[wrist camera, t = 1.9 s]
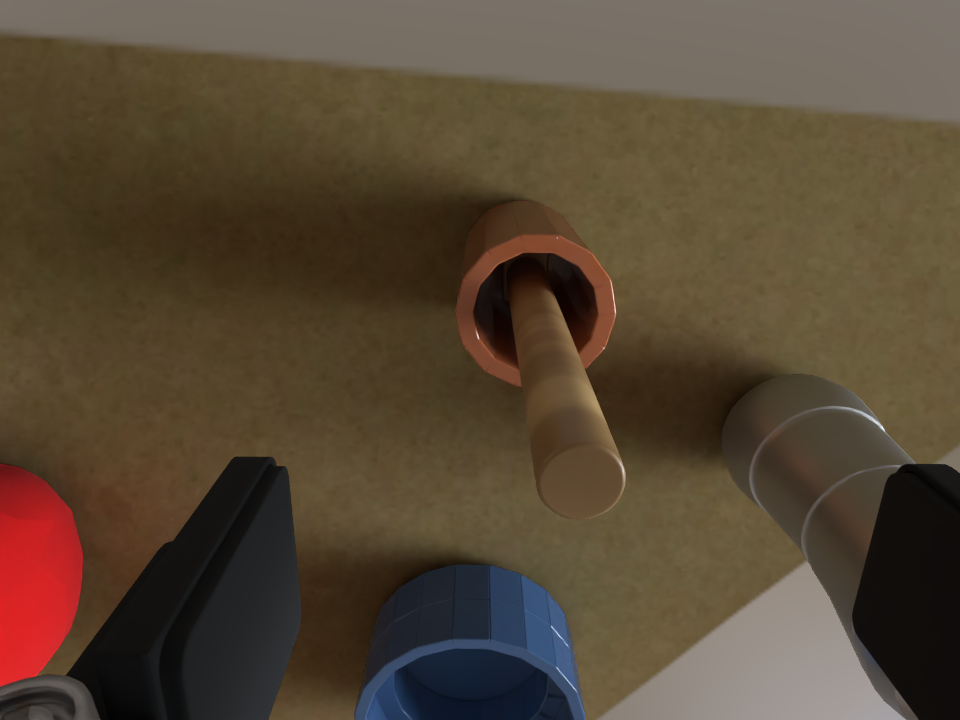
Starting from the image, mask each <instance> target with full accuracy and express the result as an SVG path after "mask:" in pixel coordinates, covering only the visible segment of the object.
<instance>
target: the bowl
mask: <svg viewBox="0 0 960 720" xmlns="http://www.w3.org/2000/svg"><path fill="white" fill-rule="evenodd" d="M354 719H355V720H585V719H586V717H585V711H584V705H583V699H582V694H581V688H580V682H579V676H578V670H577V665H576V659H575V653H574V647H573V641H572V636H571V632H570V629H569V626H568V623H567V620H566V617H565V614H564V612H563V610H562V609H561V608H560V607H559V605H558V604H557V603H556V602H555V600H554V599H553V598H552V597H551V596H550V594H549V593H548V592H547V591H546V590H545V589H544V588H542V587H540V586H539V585H537V584H536V583H534V582H533V581H531V580H529V579H528V578H526V577H525V576H523V575H521V574H520V573H517V572H513V571H510V570H506V569H503V568H499V567H496V566H492V565H466V564H457V565H451V566H447V567H443V568H439V569H435V570H431V571H428V572H425V573H423V574H421V575H419V576H418V577H416V578H414V579H413V580H411V581H409V582H408V583H406V584H404V585H403V586H401V587H400V588H398V589H397V590H396V591H395V592H394V593H393V594H392V596H391V597H390V598H389V599H388V600H387V601H386V603H385V604H384V605H383V606H382V607H381V608H380V610H379V613H378V616H377V619H376V622H375V624H374V627H373V630H372V633H371V638H370V642H369V647H368V652H367V656H366V661H365V666H364V670H363V675H362V680H361V684H360V689H359V694H358V698H357V703H356V708H355V712H354Z"/></svg>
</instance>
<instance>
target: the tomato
mask: <svg viewBox="0 0 960 720" xmlns="http://www.w3.org/2000/svg"><path fill="white" fill-rule="evenodd" d="M82 570H83V551H82V547H81V543H80V539H79V536H78V532H77V528H76V525H75V521H74V517H73V514H72V510H71V509H70V508H69V507H68V506H67V505H66V504H65V502H64V501H63V500H62V499H61V498H60V497H59V496H58V495H57V493H56V492H55V491H54V490H53V489H52V488H51V487H50V485H49V484H48V483H47V482H46V481H45V480H44V479H42V478H40V477H38V476H36V475H34V474H32V473H30V472H28V471H26V470H25V469H23V468H21V467H18V466H12V465H6V464H0V687H1V686H4V685H7V684H10V683H13V682H15V681H18V680H21V679H24V678H29V677H36V676H37V675H38V674H39V673H40V671H41V670H42V669H43V668H44V667H45V665H46V664H47V663H48V661H49V660H50V659H51V657H52V656H53V655H54V653H55V652H56V651H57V649H58V648H59V647H60V645H61V644H62V642H63V640H64V639H65V637H66V636H67V634H68V632H69V631H70V629H71V626H72V623H73V621H74V618H75V615H76V612H77V608H78V602H79V597H80V592H81V587H82Z"/></svg>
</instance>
